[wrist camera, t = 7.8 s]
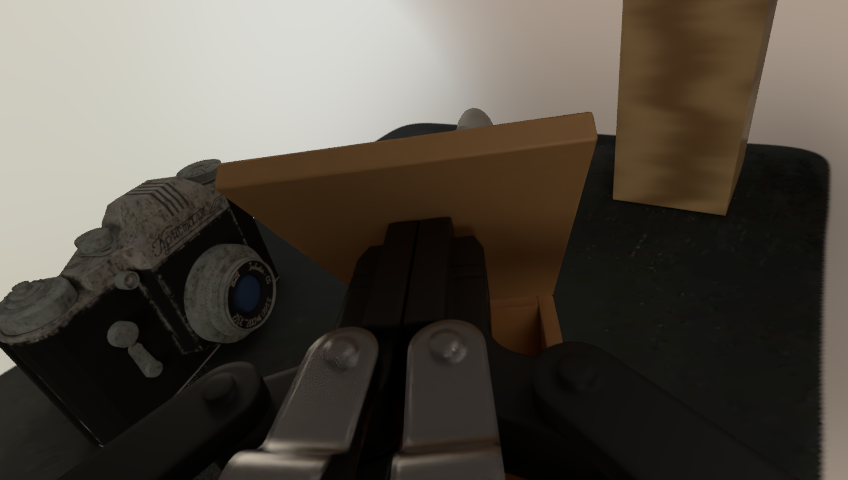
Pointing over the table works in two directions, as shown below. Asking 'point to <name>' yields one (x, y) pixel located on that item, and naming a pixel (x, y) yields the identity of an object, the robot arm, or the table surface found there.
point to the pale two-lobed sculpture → (473, 119)
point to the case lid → (430, 195)
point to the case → (525, 328)
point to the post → (687, 99)
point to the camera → (141, 302)
